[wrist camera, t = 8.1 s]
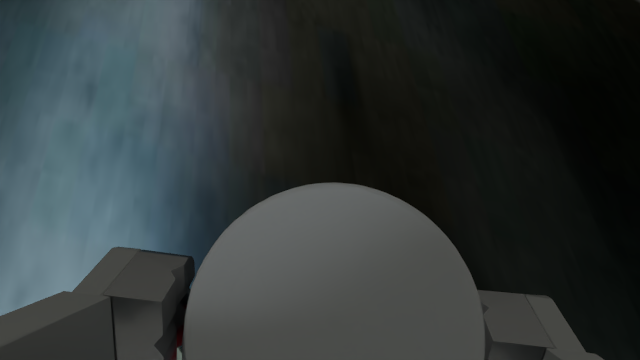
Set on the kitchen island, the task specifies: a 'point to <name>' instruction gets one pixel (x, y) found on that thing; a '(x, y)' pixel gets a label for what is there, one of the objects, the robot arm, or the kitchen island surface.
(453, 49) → the kitchen island surface
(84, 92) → the kitchen island surface
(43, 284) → the kitchen island surface
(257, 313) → the pill bottle
